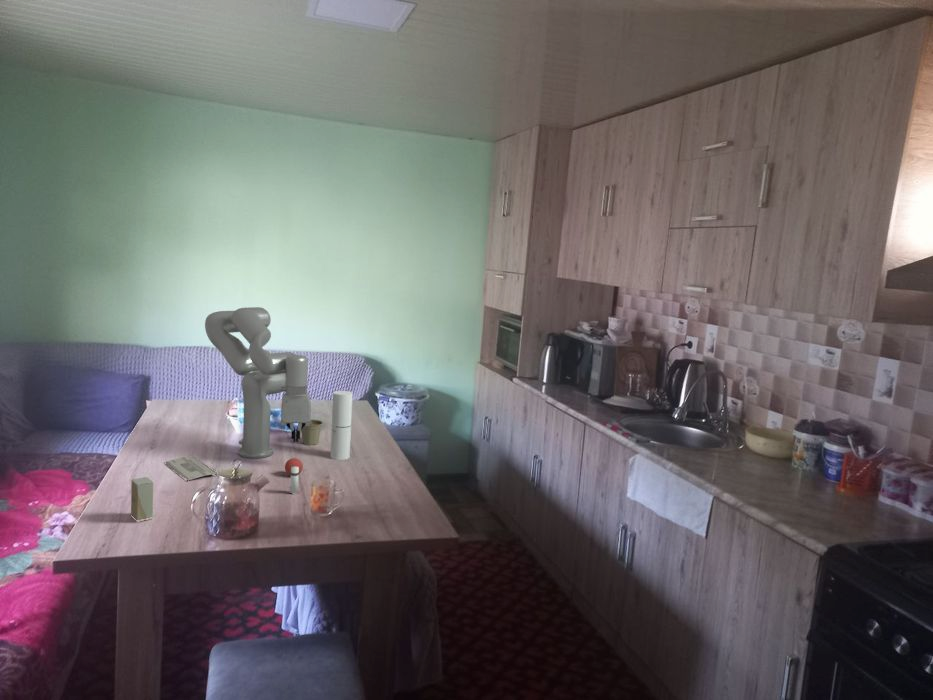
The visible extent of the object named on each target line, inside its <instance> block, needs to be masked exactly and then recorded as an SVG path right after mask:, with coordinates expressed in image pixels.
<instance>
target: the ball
mask: <svg viewBox="0 0 933 700" xmlns="http://www.w3.org/2000/svg"><path fill="white" fill-rule="evenodd" d="M293 466H297V467H299V475H300V474H301V472H302V471H303V468H304V467H303V462H302V460H300V459H299V458H296V457H292V458H289V459H288V460H287V461H286V463H285V464H284V470H285V472H286V474H287V475H288V476H291V467H293Z"/></svg>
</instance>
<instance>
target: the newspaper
mask: <svg viewBox="0 0 933 700" xmlns="http://www.w3.org/2000/svg"><path fill="white" fill-rule="evenodd" d="M164 463H166V465H168V466H169V467H170V468H171V469H172V470H171V469H170V468H169V467H168V466H167V467H168V468H169V469H170V470H171V471H173V470H174V471H175V472H177V473H178V474H179V475H181V476H182V477H184V478H186V479H187V480H188V482H189V481H191V480H194V479H199V478H202V477H206V476H209V475H210V476H211V475H212V474H215V475H216V476H217V472H215V471H216V470H217V469H215V468H213V467H212V469H213V470H212V469H211V468H209V467H211V466H210V465H209V467H208V466H207V465H208V464H206V463H204V462H203V461H201V460H200V459H198V458H197V457H195V456H193V455H188V456H182V457H178V458H174V459H170V460H166V461H165V462H163V464H164ZM205 464H206V465H205ZM166 465H165V466H166ZM214 470H215V471H214ZM174 471H173V472H174ZM175 472H174V473H175ZM178 474H177V475H178ZM179 475H178V476H179ZM217 477H218V476H217Z"/></svg>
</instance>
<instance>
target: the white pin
mask: <svg viewBox="0 0 933 700" xmlns="http://www.w3.org/2000/svg"><path fill="white" fill-rule="evenodd" d="M299 476H300V474H299V467H297V466H293V467H291V475H290V485H289V489H290V490H289V494H290V493H299Z"/></svg>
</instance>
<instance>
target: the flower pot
mask: <svg viewBox="0 0 933 700" xmlns="http://www.w3.org/2000/svg"><path fill="white" fill-rule="evenodd" d="M323 424H324V422H323V421H321V420H319V419H311V424H310V425H307V426H304V427H303V428H302V429H301V430H300V433H301V438H302V444H303V445H305V444H306V445H305V446H313V445H315V444H316V445H318V444H319V442H320V435H321V430H322V426H323Z"/></svg>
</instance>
